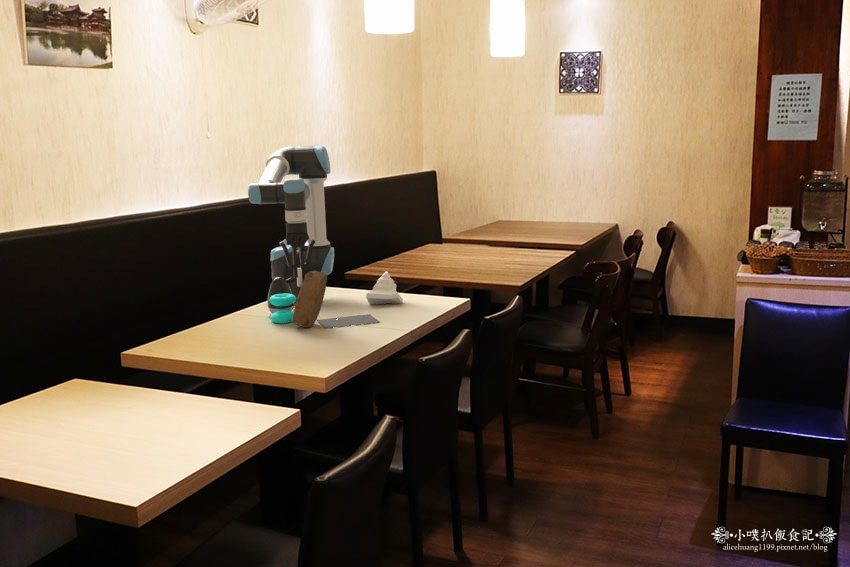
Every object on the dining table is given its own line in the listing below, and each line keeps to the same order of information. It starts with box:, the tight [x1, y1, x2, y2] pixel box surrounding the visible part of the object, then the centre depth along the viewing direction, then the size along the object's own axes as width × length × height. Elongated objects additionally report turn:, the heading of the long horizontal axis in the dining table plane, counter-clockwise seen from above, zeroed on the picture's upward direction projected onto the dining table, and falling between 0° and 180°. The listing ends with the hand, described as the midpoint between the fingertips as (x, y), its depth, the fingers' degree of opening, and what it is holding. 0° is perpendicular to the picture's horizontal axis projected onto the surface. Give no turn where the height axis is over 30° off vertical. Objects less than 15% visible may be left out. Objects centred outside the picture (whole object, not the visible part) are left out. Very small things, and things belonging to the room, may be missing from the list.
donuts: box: [269, 293, 296, 324], centre depth 301 cm, size 10×10×10 cm
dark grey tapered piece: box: [267, 277, 295, 315], centre depth 311 cm, size 10×10×15 cm
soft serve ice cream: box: [365, 270, 404, 305], centre depth 327 cm, size 12×15×14 cm
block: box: [292, 271, 328, 328], centre depth 290 cm, size 11×8×20 cm
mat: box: [316, 313, 380, 329], centre depth 298 cm, size 14×21×1 cm, turn 110°
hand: (299, 285), depth 289 cm, fingers closed
